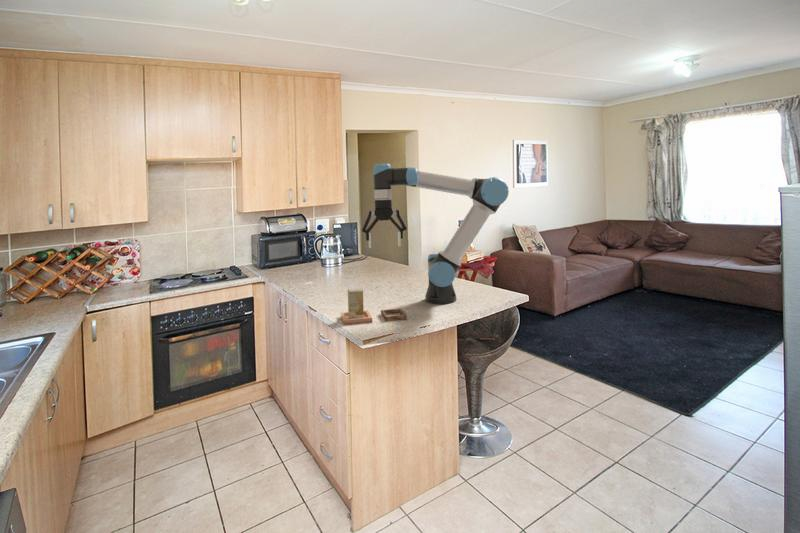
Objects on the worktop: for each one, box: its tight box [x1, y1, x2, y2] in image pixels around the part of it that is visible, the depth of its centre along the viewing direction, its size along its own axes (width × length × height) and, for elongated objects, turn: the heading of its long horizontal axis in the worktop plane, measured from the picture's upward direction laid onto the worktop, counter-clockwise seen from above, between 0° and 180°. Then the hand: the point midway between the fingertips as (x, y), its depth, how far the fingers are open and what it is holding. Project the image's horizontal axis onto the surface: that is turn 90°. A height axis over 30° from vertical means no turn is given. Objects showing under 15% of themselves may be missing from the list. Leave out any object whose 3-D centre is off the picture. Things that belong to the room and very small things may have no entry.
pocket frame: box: [380, 308, 408, 322], centre depth 187 cm, size 9×11×2 cm
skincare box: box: [347, 288, 365, 319], centre depth 184 cm, size 6×4×12 cm
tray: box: [340, 310, 373, 326], centre depth 185 cm, size 12×12×2 cm
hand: (384, 246), depth 196 cm, fingers open, 13 cm apart
